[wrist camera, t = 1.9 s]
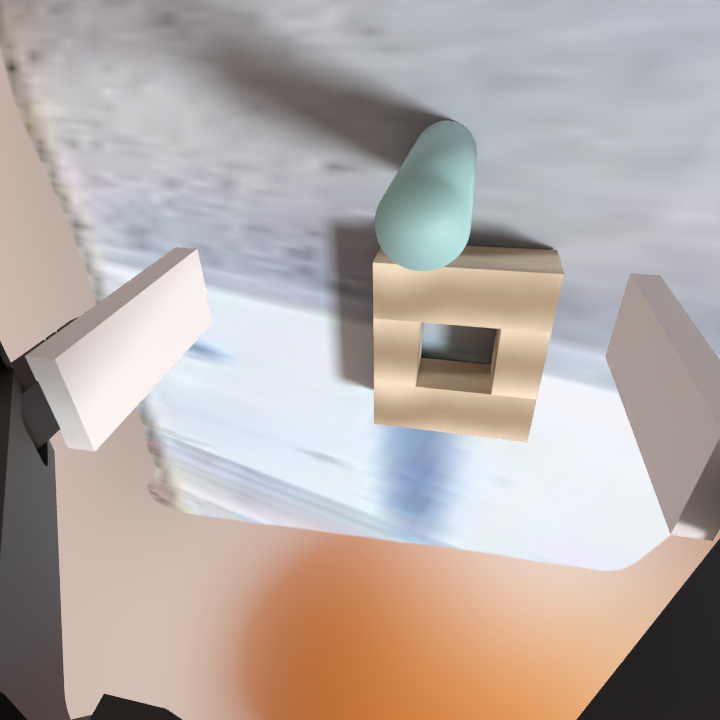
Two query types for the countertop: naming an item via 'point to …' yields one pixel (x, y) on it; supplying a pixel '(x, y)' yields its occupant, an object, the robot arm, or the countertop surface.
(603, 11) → the countertop surface
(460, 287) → the socket block
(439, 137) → the dowel
